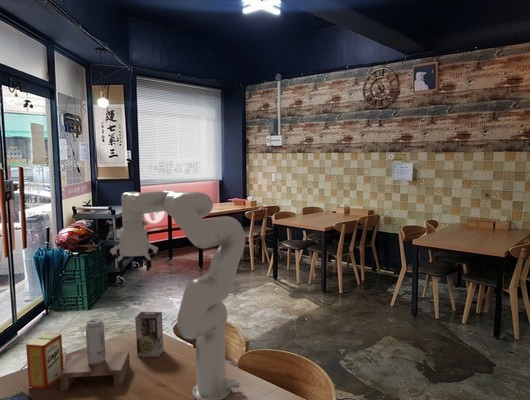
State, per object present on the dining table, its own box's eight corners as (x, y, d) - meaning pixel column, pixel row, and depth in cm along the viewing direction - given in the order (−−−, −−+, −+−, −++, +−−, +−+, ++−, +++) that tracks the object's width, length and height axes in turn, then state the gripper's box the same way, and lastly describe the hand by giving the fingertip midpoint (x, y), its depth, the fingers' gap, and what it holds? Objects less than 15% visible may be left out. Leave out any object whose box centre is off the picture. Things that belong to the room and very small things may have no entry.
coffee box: (164, 349, 176) (162, 311, 175) (158, 357, 170) (157, 317, 168) (142, 349, 177) (140, 311, 176) (136, 356, 171) (134, 317, 169)
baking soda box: (45, 389, 147) (42, 344, 145) (29, 387, 148) (25, 343, 147) (63, 375, 156) (61, 333, 155) (47, 374, 158) (45, 332, 156)
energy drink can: (102, 365, 151) (99, 324, 149) (84, 366, 151) (82, 324, 149) (108, 357, 157) (106, 318, 155) (91, 358, 157) (89, 318, 155)
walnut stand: (129, 366, 163) (129, 351, 162) (121, 386, 149) (120, 369, 148) (74, 369, 161) (73, 354, 160) (60, 390, 147) (59, 373, 146)
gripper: (158, 223, 164) (160, 267, 166) (111, 224, 163) (113, 268, 164) (155, 226, 157) (157, 272, 159) (106, 227, 155) (108, 274, 157)
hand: (135, 270), depth 162 cm, fingers open, 9 cm apart
